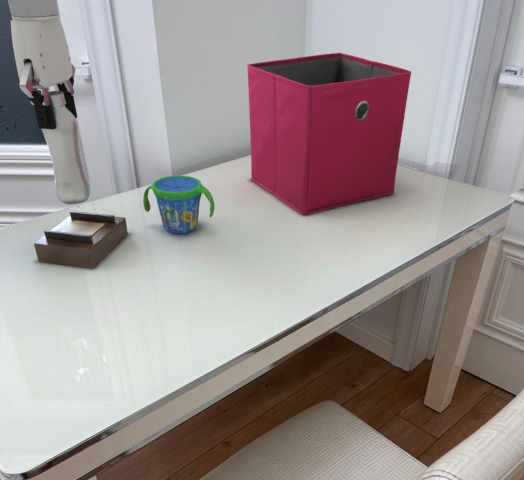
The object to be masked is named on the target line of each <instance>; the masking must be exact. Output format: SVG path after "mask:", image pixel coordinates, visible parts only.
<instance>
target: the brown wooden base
mask: <svg viewBox="0 0 524 480" xmlns="http://www.w3.org/2000/svg"><path fill="white" fill-rule="evenodd" d="M126 219H127V217H126V216H116V215H114V214H107V213H98V212H97V213H96V212H88V211H80V210H79V211H78V210H71V211H69V216H68V217H66V218H65V219H64V220H63V221H61V222H60V223H58V224H57V225H56V226H55V227H53V228H52V229H45V230H43V233H44V235H42V236H41V238H39V239H38V240H36V241H35V242H34V243H33V245H34V250H35V253H36V258H37V261H38V262H39V263H46V264H55V265H62V266H69V267H76V268H85V269H94V268H95V267H96V266H97V265H98V264H99V263H100V262H102V261H103V260H104V258H106V256H108V254H110V253H111V252H112V251H113V250H114V249H115V248H116V247H117V246H118V245H119V244H120V243H121V242H122V241H123V240H124V239H125V238H126V237H127V236H128V235H129V232H128V225H127V220H126Z"/></svg>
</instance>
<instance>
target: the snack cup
mask: <svg viewBox="0 0 524 480" xmlns="http://www.w3.org/2000/svg"><path fill="white" fill-rule="evenodd" d="M150 190H152V193H153V195H154V196H155V199H156V204H157V207H158V211H159V215H160V219H161V222H162V226H163V229H164V230H165V231H166V232H167V233H172V234H183V235H186V234H187V233H191V232H192V231H194V230H197V228H198V224H199V213H200V212H199V211H200V202H201V197H202V194H203V195H204V197H205V198H206V200H207V201H208V202H209V206H210V207H209V218H211V219H212V217H213V216H214V212H215V201H214V198H213V195H212V193H211V192H210V190H209V189H208V188H207V187H205V186H204V185H203V182H202V181H201V180H200V179H198V178H196V177H193V176H189V175H168V176H164V177H163V176H162V177H160V178H158V179H156V180H155V181H153V182H152V183H151V184H150V185H148V186H147V187H146V188H145V190H144V191H143V192H144V193H143V200H142V201H143V203H142V204H143V208H144V211H145V212H147V213H148V212H150V210H151V202H150V200H149V193H150V192H149V191H150Z"/></svg>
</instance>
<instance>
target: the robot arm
mask: <svg viewBox="0 0 524 480" xmlns="http://www.w3.org/2000/svg"><path fill="white" fill-rule="evenodd" d="M7 2H8V8H9V12H10V15H11V19H12V20H10V33H11V42H12V48H13V54H14V55H13V56H14V59H15V65H16V70H17V75H18V79H19V84H18V87H19V89H20V90H21V92H23V93H24V94H25V96H26V98H27V99H28V100H29V102H30V104H31V105H32V106H33V109H34V113H35V117H36V122H37V125H38V128H39V129H40V130H42V129H52V130H54V129H56V123H55V118H54V114H53V109H52V105H48V104H49V91H50V88H51V87H55V89H56V91H61V92H63V94H64V98H65V100H66V104H65V107H66V108H67V109H68V110H69V111H70V112H71V113H72V114H73V115H74V117H75V118H76V119H77V118H78V111H77V107H76V102H75V97H74V95H75V88H74V86H75V85H74V84H75V75H76V67H75V66H74V65H73V63H72V59H71V54H70V49H69V44H68V41H67V37H66V33H65V30H64V27H63V23H62V21H61V13H60V8H59V4H58V0H7ZM39 91H41V93H39Z"/></svg>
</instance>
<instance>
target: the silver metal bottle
mask: <svg viewBox="0 0 524 480" xmlns="http://www.w3.org/2000/svg"><path fill="white" fill-rule="evenodd" d="M65 104H66V100H65V98H64V94H63V92H61V91H57V90H49V104H48V105H52V109H53V114H54V118H55V123H56V129H54V130H52V129H41V132H42V134H43V137H44V140H45V142H46V145H47V147H48V152H49V155H50V159H51V162H52V170H53V177H54V191H55V194H56V198H57V199H58V201H59V202H61V203H62V204H65V205H78V204H82V203H84V202H86V201H88V200H89V198H90V196H91V185H90V182H89V179H88V176H87V175H86V172H85V167H84V164H83V161H82V154H81V148H80V147H81V146H80V135H79V133H80V132H79V123H78V120H77V118H75V117H74V115H73V114H72V113H71V112H70V111H69V110H68V109H67V108H66V107H65Z"/></svg>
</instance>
